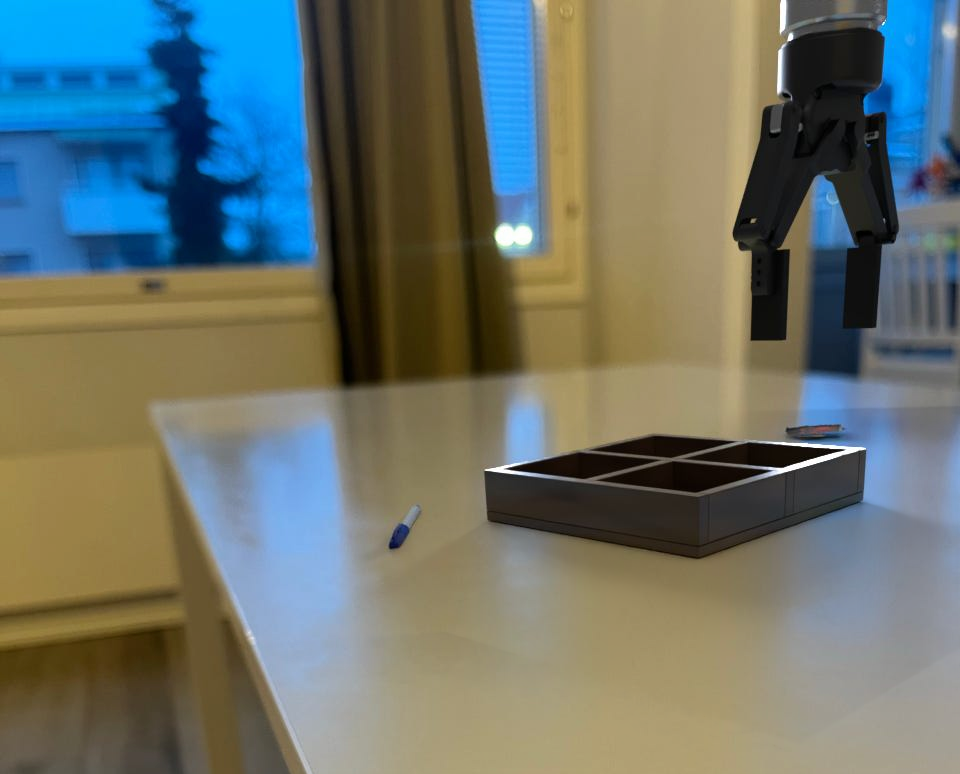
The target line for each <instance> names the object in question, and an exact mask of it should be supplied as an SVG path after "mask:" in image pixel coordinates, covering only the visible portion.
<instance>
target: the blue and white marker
mask: <svg viewBox="0 0 960 774" xmlns="http://www.w3.org/2000/svg"><path fill="white" fill-rule="evenodd" d="M420 514H421V506H420V505H419V504H416V505H412V507H411V508H410V509H409V511H408V512H407V514H406V515H405V517H404V519H403V521H402V522H401V523H398V524H397V525H396V527H395V528H394V529H393V532H392V535H391V537H390V539H389V542H388V548H389V549H390V550H397V549H399V548H400V547H401V546H402V545H403V544H404V542H405V540H406V538H407V536H408V535H409V533H410V530H411V528H412V527H413V524H415V522H416V520H417V518H418V516H419V515H420ZM396 548H397V549H396Z"/></svg>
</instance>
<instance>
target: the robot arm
mask: <svg viewBox="0 0 960 774" xmlns="http://www.w3.org/2000/svg"><path fill="white" fill-rule="evenodd" d="M888 1H889V0H781V1H780V5H779V9H780V20H779V21H780V24H779V35H780V36H781V38H782V39H784V40H785V41H786V42H784V44H782V46H781V47H780V49H779V50H778V52H777V53H778V56H777V59H778V60H777V82H776V83H777V84H776V85H777V86H776V93H777V94H776V95H777V98H778V99H779V100H780V101H782V102H781V103H775V104H771V105H765V107H764V108H763V110H762V113H761V122H760V123H761V124H760V134H759V140H758V141H759V142H758V145H757V148H756V151H755V154H754V157H753V161H752V163H751V168H750V171H749V174H748V178H747V180H746V181H747V182H746V183H745V184H746V185H745V188H744V191H743V194H742V196H741V197H742V198H741V202H740V204H739V208H738V211H737V214H736V218H735V222H734V224H733V228H732V234H731V235H732V239H733V240H734V242H736V243H737V248H738V250H739V251H740V252H751V253H750V254H751V263H750V264H751V265H750V274H751V275H750V280H751V281H750V293H751V309H750V342H771V341H772V342H775V341H776V342H778V341H779V342H781V341H787V330H788V309H789V284H790V262H791V261H790V260H791V248H782V249H780V248H781V247H782V246H783V244H784V242H785V240H786V238H787V236H788V234H789V232H790V230H791V227H793V224H794V222H795V220H796V217H797V215H798V213H799V211H800V209H801V207H802V204H803V203H804V201H805V198H806V196H807V194H808V193H809V190H810V188H811V186H812V184H813V182H814V179H815V178H816V177H817V176H823V177H824V179H825V180H826V181H827V182H830V183H832V185H833V188H834V191H835V193H836V197H837V199H838V202H839V206H840V208H841V211H842V213H843V216H844V219H845V222H846V225H847V228H848V230H849V233H850V237H851V240H852V242H853V245H854V246H855V247H847V248H846V263H845V277H844V278H845V280H844V294H843V309H842V310H843V312H842V328H841V329H843V330H844V329H849V330H851V329H853V330H855V329H858V330H859V329H875V328H877V325H878V324H877V323H878V309H879V295H880V294H879V293H880V283H881V282H880V281H881V267H882V256H883V255H882V252H883V246H885V245H894V244H895V243H896V241H897V238H898V237H897V236H898V234H899V231H900V223H899V222H900V221H899V216H898V209H897V202H896V196H895V191H894V183H893V176H892V171H891V170H892V169H891V163H890V158H889V157H890V156H889V150H888V145H887V131H888V129H887V127H888V118H887V117H888V116H887V113H886V112H885V111H884V110H883V111H878V112H877V111H876V112H872V113H865V104H864V103H865V102H864V100H865V98H866V97H867V96H868V94H872V93H874V92H876V91H877V90H879V88H880V87H881V85H882V83H883V75H884V73H883V72H884V62H885V61H884V59H885V46H886V45H885V44H886V37H885V35H883V32H881V31H880V30H878V29H880V28H881V27H882V26H883V25H884V24H885V23H886V22H887V20H888V4H889V3H888ZM752 220H754V222H752Z"/></svg>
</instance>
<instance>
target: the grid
mask: <svg viewBox="0 0 960 774" xmlns="http://www.w3.org/2000/svg"><path fill="white" fill-rule="evenodd" d="M866 463H867V448H866V447H853V446H852V447H851V446H839V445H823V444H810V443H809V444H808V443H797V442H796V443H794V442H782V441H769V440H768V441H767V440H754V439H753V440H752V439H739V438H738V439H737V438H726V437H723V438H722V437H711V436H697V435H682V434H671V433H670V434H669V433H657V432H656V433H648V434H645V435H640V436H635V437H631V438H625V439H622V440H621V439H620V440H617V441H612V442H608V443H603V444H599V445H593V446H589V447H584V448H580V449H575V450H571V451H566V452H562V453H557V454H553V455H547V456H544V457H538V458H535V459H534V458H533V459H530V460H526V461H521V462H515V463H511V464H507V465H502V466H499V467H494V468H488V469H484V471H483V474H484V475H483V476H484V489H485V490H484V491H485V505H486V519H487V521H492V522H497V523H502V524H507V525H514V526H519V527H525V528H530V529H535V530H542V531H547V532H552V533H558V534H563V535H569V536H574V537H579V538H586V539H591V540H596V541H603V542H608V543H613V544H618V545H625V546H630V547H636V548H641V549H647V550H653V551H658V552H664V553H670V554H673V555H674V554H675V555H680V556H686V557H691V558H697V559H699V558H703V557H705V556H708V555H710V554H711V555H712V554H714V553H716V552H720V551H723V550H726V549H728V548H731V547H733V546H736V545H739V544H742V543H745V542H748V541H751V540H753V539H756V538H760V537H762V536H765V535H767V534H770V533H774V532H776V531H780V530H783V529H785V528H788V527H791V526H793V525H796V524H800V523H803V522H805V521H807V520H811V519H814V518H816V517H819V516H822V515H825V514H828V513H830V512H834V511H837V510H838V509H842V508H844V507H848V506H851V505H853V504H857V503H859V502H862V501H864V495H865V483H866V482H865V481H866V480H865V479H866V465H867V464H866Z"/></svg>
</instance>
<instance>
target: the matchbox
mask: <svg viewBox="0 0 960 774" xmlns="http://www.w3.org/2000/svg"><path fill="white" fill-rule="evenodd" d="M841 431H847V428H846V427H845V426H843V425H842V424H839V423H837V424H836V423H835V424H831V423H830V424H817V425H802V426H795V427H788V426H786V427H785V430H784V432H785V434H787V435H796V437H797V438H823V437H826V435H827V433H839V432H841ZM824 433H825V434H826V435H825V434H824Z"/></svg>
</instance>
